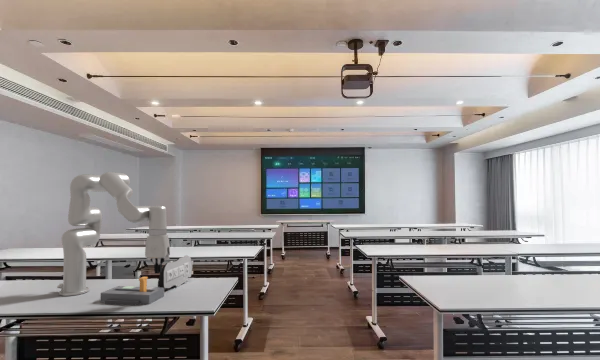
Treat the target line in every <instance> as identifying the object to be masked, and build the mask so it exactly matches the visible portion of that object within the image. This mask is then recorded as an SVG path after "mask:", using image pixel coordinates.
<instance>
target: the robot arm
mask: <svg viewBox="0 0 600 360" xmlns="http://www.w3.org/2000/svg"><path fill="white" fill-rule="evenodd" d="M130 184H131V180H130V177H129V176H128V175H127V174H126V173H123V172H114V171H108V172H104V173H102V174H91V173H90V174H79V175H76V176H75V177H73V179H72V180H70V184H69V192H70V195H69V196H70V200H69V208H68V216H67V221H68V224H69V225H70V226H72V227H77V228H71V229H68V230H65V231H64V233H63V234H62V235H61V246H62V250H63V274H62V275H63V277H62V278H63V279H62V283H59V284H58V285H57V286H56V287H57V288H56V289H61V290H60V291H58V295H59V296H62V297H65V296H66V297H70V296H76V295H77V296H78V295H82V294H85V293H88V292H89V291H90V287H88V286H87V253H86V251H85V249H84V247H89V246H94V245H95V244H97V243H98V242H99V240H100V238H101V232H102V231H101V230H102V224H103V213H102V211H101V209H100V208H98V207H96V206H90V205H91V198H90V197H91V196H90V194H89V192H100V193H101V192H102V193H103V192H104V193H105V192H106V193H108V194H109V195H110V196H111V197H112V198H114V200H115V201H116V209H117V211H118V212H119V214H120V215H121V216H123V218H124V219H125V220H126V221H128V222H130V223H132V224H133V223H135V224H136V223H137V224H138V223H148V224H149V225H148V230H146V234H148V236H147V237H146V241H145V248H144V249H145V250H144V257H145V258H146V260H147V261H150V262H152V264H153V271H154V274H160V273H161V272H162V268H163V264H164V262H165V261H168V260H170V259H171V258H170V255H171V247H170V240H169V235H167V234H168V233H167V228H168V227H167V226H168V225H167V207H166V206H164V205H154V206H153V205H137V206H136V205H134V204H133V202H131V201H130V199H131V198H132V196H133V193H134V191H133V190H134V189H132V187H130ZM82 226H84V227H82ZM78 227H79V228H78Z"/></svg>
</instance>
